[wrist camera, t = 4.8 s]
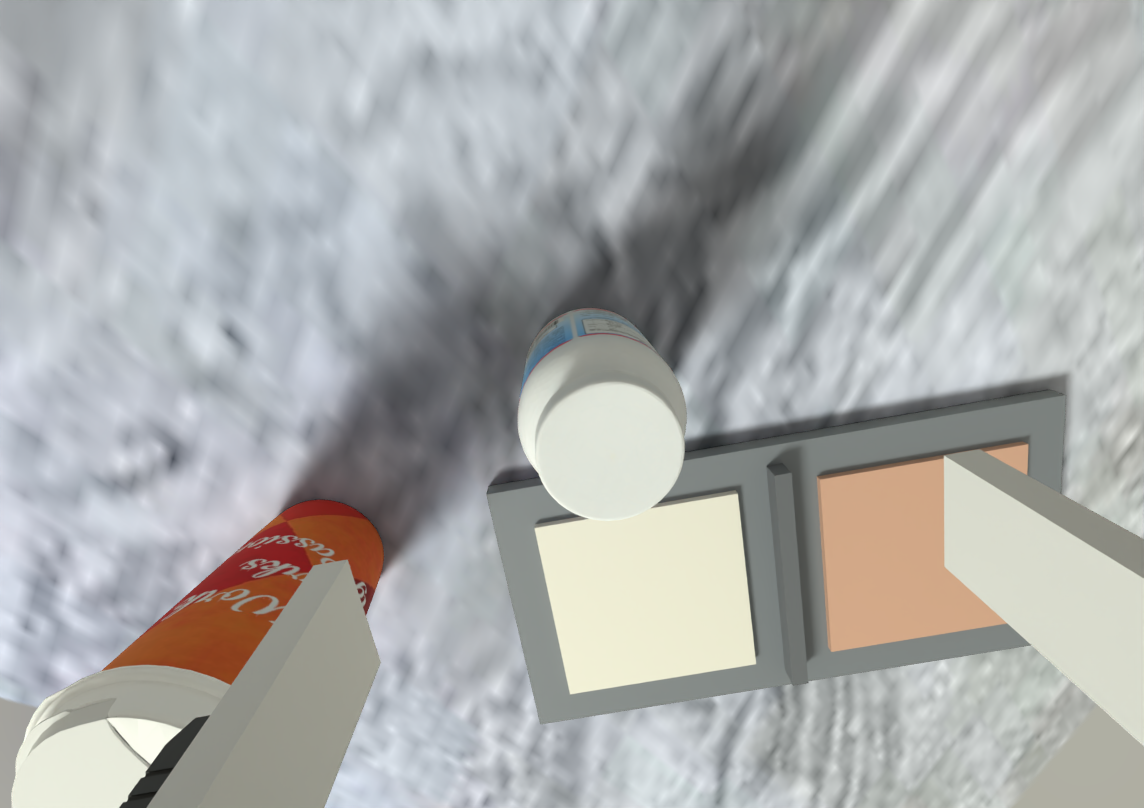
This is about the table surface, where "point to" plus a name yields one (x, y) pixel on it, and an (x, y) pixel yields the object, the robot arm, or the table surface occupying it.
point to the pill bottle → (601, 416)
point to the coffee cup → (183, 661)
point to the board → (763, 563)
